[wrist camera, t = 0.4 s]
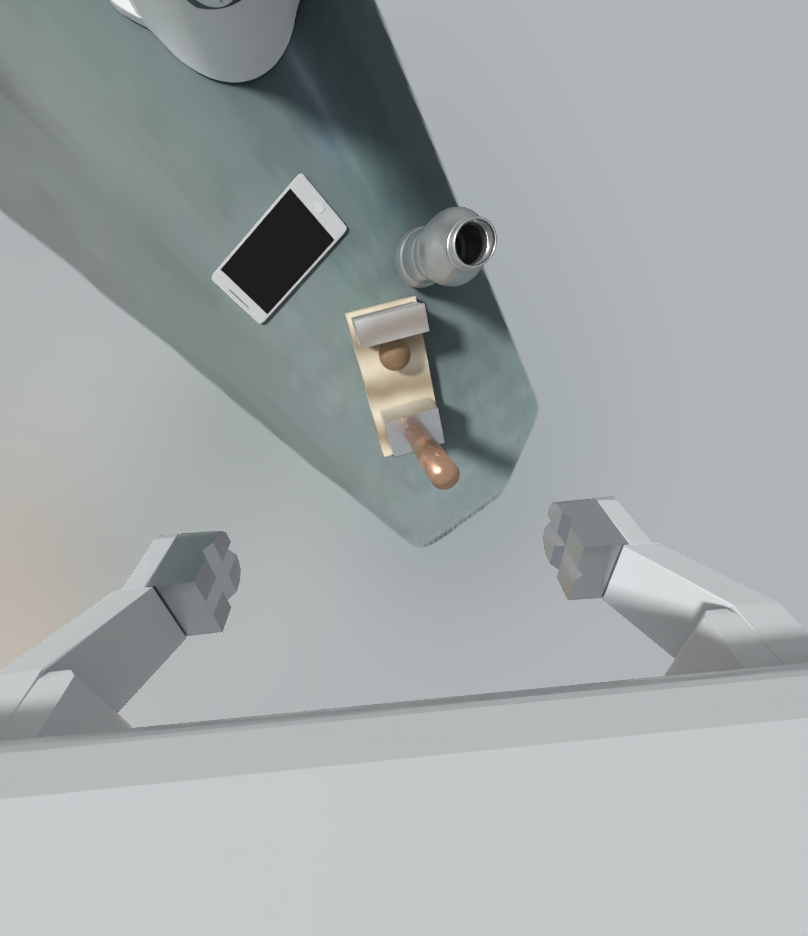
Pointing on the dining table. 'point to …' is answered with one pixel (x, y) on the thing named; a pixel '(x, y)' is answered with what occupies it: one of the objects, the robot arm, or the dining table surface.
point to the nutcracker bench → (379, 382)
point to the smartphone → (280, 250)
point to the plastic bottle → (445, 249)
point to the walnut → (394, 355)
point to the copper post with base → (420, 439)
